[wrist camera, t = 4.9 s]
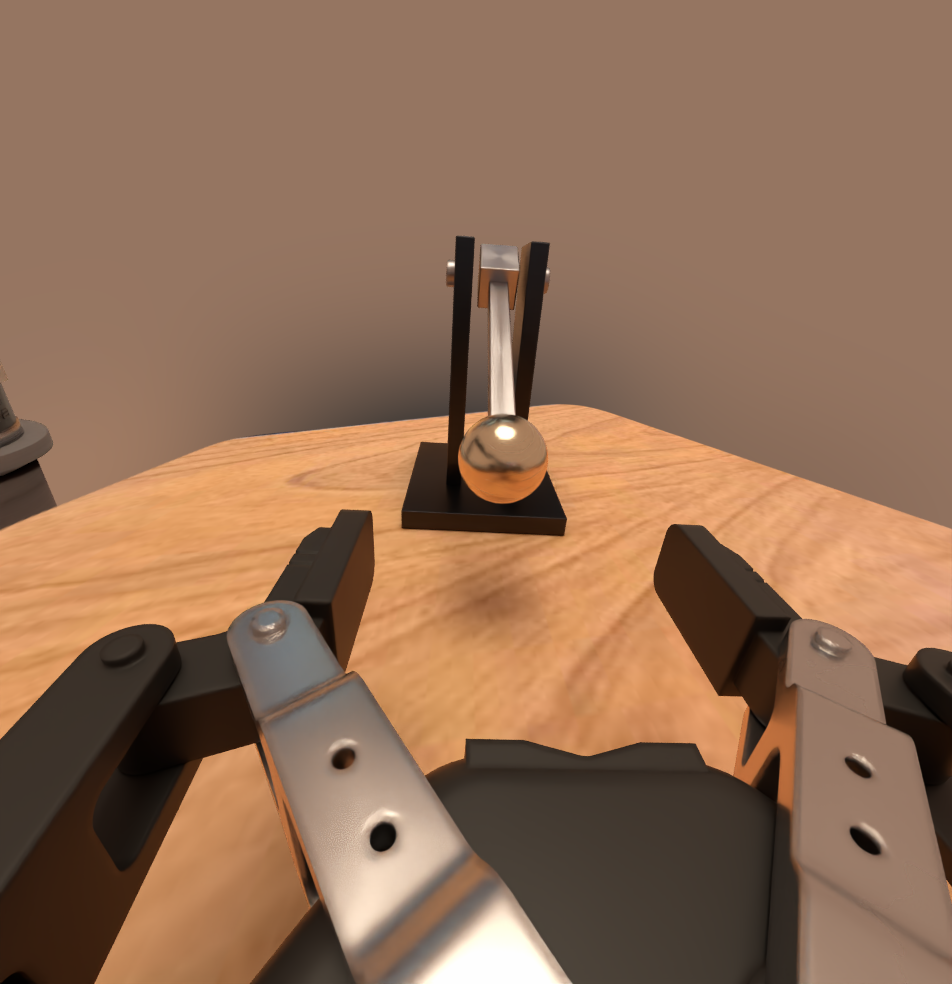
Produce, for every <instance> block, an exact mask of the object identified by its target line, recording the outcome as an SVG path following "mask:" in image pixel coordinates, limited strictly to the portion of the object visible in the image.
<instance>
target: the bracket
mask: <svg viewBox="0 0 952 984" xmlns="http://www.w3.org/2000/svg"><path fill="white" fill-rule="evenodd" d="M474 241H475V238H474V237H468V236H456V246H455V247H456V248H455V261H454V260H448V261H447V271H446V285H447V287H454V298H453V300H454V301H453V324H452V350H451V352H452V353H451V375H450V401H449V426H448V443H430V442H421V443H420V447H419V451H418V454H417V458H416V461H415V465H414V468H413V472H412V476H411V479H410V483H409V486H408V490H407V493H406V497H405V501H404V504H403V508H402V528H418V529H439V530H461V531H482V532H504V533H526V534H547V535H564V532H565V527H566V521H567V518H566V516H565V513H564V511H563V508H562V506H561V504H560V501H559V499H558V496H557V494H556V492H555V489H554V487H553V484H552V482H551V480H550V477H549V475H548V472H547V470H546V473H545V476H544V478H543V480H542V482H541V483H540V485H539V486H538V487H537V489H536V490H535V491H534V492H532V493H531V494H530V495H529V496H527V497H526V498H524V499H522V500H519V501H517V502H513V503H506V504H500V503H493V502H489V501H486V500H484V499H482V498H480V497H479V496H477V495H476V494H474V493H473V492H472V491H471V490H470V489H469V488H468V486H467V485H466V484H465V482H464V480H463V478H462V476H461V473H460V470H459V465H458V454H459V448H460V445H461V442H462V439H463V438H464V422H465V403H466V385H467V368H468V350H469V333H470V315H471V297H472V278H473V261H474V243H475V242H474ZM549 245H550V243H546V242H530V243H528V244H527V245H525V246H523V247H522V252H521V261H520V273H519V281H518V291H517V302H516V312H515V322H514V332H513V342H512V357H513V375H514V393H515V410H516V416H519V417H522V418H524V419H526V420H527V421H528V415H529V407H530V399H531V390H532V382H533V374H534V366H535V358H536V350H537V342H538V334H539V326H540V318H541V310H542V302H543V294H545V293H547V290H548V287H549V281H550V269H549V268H547V262H548V254H549Z"/></svg>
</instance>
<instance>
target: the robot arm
mask: <svg viewBox="0 0 952 984" xmlns="http://www.w3.org/2000/svg"><path fill="white" fill-rule="evenodd" d="M6 380H8V378H7V376H6V373H5V371H4V369H3V366H2V364H1V361H0V447H2V446H5V445H7V444H10V443H12V442H14V441H15V440H17V439H19V438H20V437H21V436H22V435H23V433H24V431H23V428H22V426H21V424H20V421H19V419H18V418H17V417H16V416H15V414H14V412H13V410H12V407H11V405H10V403H9V400H8V398H7V396H6V393H5V391H4V389H3V386H2V384H1V383H2V382H4V381H6ZM374 565H375V559H374V538H373V519H372V513H371V511H364V510H343V509H342V510H341V511H340V512H339V514H338V516H337V518H336V520H335V522H334V524H333V525H332V527H331V528H323V527H319V528H317V529H316V530H315V531H313V532H312V533H310V534H309V535H308V536H306V537H305V538H304V539H303V540H302V542H301V544H300V545H299V547H298V549H297V550H296V554H294V555H293V557H292V558H291V560H290V562H289V565H287V566H286V568H285V570H284V571H283V573H282V574H281V576H280V578H279V579H278V581H277V583H276V584H275V586H274V587H273V589H272V591H271V592H270V594H269V596H268V597H267V599H266V600H265V602H264V603H262V604H259V605H256V606H254V607H252V608H250V609H248V610H246V611H245V612H243V613H242V614H240V615H239V616H238V617H237V618H236V619H235V620H234V621H233V622H232V624H231V625H230V627H229V629H228V631H226V632H223V633H220V634H216V635H212V636H207V637H202V638H197V639H192V640H187V641H182V642H177V643H176V641H175V638H174V635H173V633H172V632H171V630H169V629H168V628H167V627H164V626H161V625H156V624H144V625H137V626H132V627H128V628H124V629H121V630H119V631H116V632H114V633H111V634H109V635H107V636H105V637H103V638H101V639H100V640H98V641H96V642H95V643H93V644H92V645H91V646H89V647H88V648H87V649H85V650H84V651H83V652H82V653H81V654H80V655H79V656H78V657H77V658H76V659H75V660H74V662H73V663H72V664H71V665H70V666H69V667H68V668H67V669H66V670H65V671H64V672H63V673H62V674H61V675H60V676H59V678H58V679H57V680H56V681H55V682H54V683H53V684H52V685H51V686H50V687H49V688H48V689H47V690H46V691H45V692H44V694H43V695H42V696H41V697H40V698H39V699H38V700H37V701H36V702H35V703H34V704H33V705H32V706H31V707H30V708H29V710H28V711H27V712H26V713H25V714H24V715H23V716H22V717H21V718H20V719H19V720H18V721H17V722H16V723H15V724H14V726H13V727H12V728H11V729H10V730H9V731H8V732H7V733H6V734H5V735H4V736H3V737H2V738H1V739H0V984H94V983H95V981H96V979H97V977H98V975H99V973H100V971H101V968H102V966H103V964H104V962H105V960H106V958H107V956H108V954H109V952H110V950H111V948H112V946H113V944H114V941H115V939H116V937H117V935H118V933H119V931H120V929H121V927H122V925H123V923H124V921H125V919H126V917H127V914H128V912H129V910H130V908H131V906H132V904H133V902H134V900H135V898H136V896H137V894H138V892H139V890H140V888H141V885H142V883H143V881H144V879H145V877H146V875H147V873H148V871H149V869H150V867H151V865H152V863H153V861H154V858H155V856H156V854H157V852H158V850H159V848H160V846H161V844H162V842H163V840H164V838H165V836H166V834H167V832H168V829H169V827H170V825H171V823H172V821H173V819H174V817H175V815H176V813H177V811H178V809H179V807H180V805H181V802H182V800H183V798H184V796H185V794H186V792H187V790H188V788H189V786H190V784H191V782H192V780H193V778H194V776H195V773H196V771H197V769H198V767H199V765H200V763H201V761H202V759H203V758H204V757H208V756H211V755H215V754H218V753H222V752H225V751H229V750H232V749H236V748H239V747H243V746H246V745H250V744H253V743H255V746H256V749H257V752H258V755H259V758H260V761H261V764H262V767H263V770H264V773H265V776H266V778H267V781H268V784H269V787H270V790H271V793H272V796H273V799H274V802H275V805H276V808H277V811H278V814H279V817H280V820H281V823H282V826H283V829H284V832H285V835H286V839H287V842H288V845H289V849H290V852H291V855H292V859H293V862H294V865H295V868H296V871H297V874H298V877H299V880H300V883H301V886H302V889H303V892H304V895H305V898H306V901H307V904H308V907H309V911H308V912H307V913H306V914H305V916H304V917H303V918H302V919H301V921H300V922H299V923H298V924H297V926H296V927H295V928H294V929H293V931H292V932H291V933H290V934H289V936H288V937H287V938H286V939H285V941H284V942H283V943H282V944H281V946H280V947H279V948H278V949H277V951H276V952H275V953H274V954H273V956H272V957H271V958H270V959H269V961H268V962H267V963H266V964H265V965H264V967H263V968H262V969H261V970H260V972H259V973H258V974H257V975H256V977H255V978H254V979H253V980H252V982H251V983H250V984H952V903H951V899H950V895H949V890H948V886H947V882H946V880H947V881H948V882H949V884H950V885H951V886H952V652H949V651H946V650H942V649H936V648H924V649H921V650H919V651H918V652H917V654H916V655H915V656H914V658H913V659H912V660H911V662H910V663H909V665H908V666H907V665H903V664H899V663H895V662H891V661H887V660H883V659H880V658H876V657H873V655H872V653H871V652H870V651H869V650H868V648H867V647H866V646H865V645H864V644H862V643H861V642H860V641H859V640H857V639H856V638H855V637H853V636H852V635H850V634H848V633H847V632H845V631H843V630H841V629H839V628H837V627H835V626H832V625H830V624H827V623H824V622H821V621H817V620H812V619H802V618H801V617H800V616H799V615H798V614H797V613H796V612H795V611H794V610H793V609H792V608H791V607H790V606H789V605H788V604H787V603H786V602H785V601H784V600H783V599H782V598H781V597H780V596H779V595H778V594H777V593H776V592H775V591H774V590H773V589H772V588H771V587H770V586H769V585H768V584H767V583H764V580H763V579H762V578H761V577H760V575H759V574H758V573H757V572H753V568H752V567H751V566H750V565H749V564H748V563H747V562H746V561H745V560H744V559H743V558H742V557H741V556H739V555H738V554H736V553H735V552H733V551H731V550H730V549H728V548H727V547H725V546H723V545H722V544H720V543H719V542H718V541H717V540H716V539H715V537H714V536H713V535H712V534H711V533H710V532H709V531H708V530H707V529H706V528H705V527H703V526H701V525H681V524H673V525H671V526H670V527H669V528H668V530H667V532H666V535H665V539H664V542H663V545H662V548H661V551H660V555H659V558H658V561H657V564H656V567H655V571H654V587H655V590H656V593H657V595H658V596H659V598H660V600H661V601H662V603H663V605H664V606H665V608H666V610H667V611H668V613H669V615H670V616H671V618H672V620H673V621H674V623H675V625H676V626H677V628H678V629H679V631H680V633H681V634H682V636H683V638H684V639H685V641H686V643H687V644H688V646H689V648H690V649H691V651H692V653H693V654H694V656H695V658H696V659H697V661H698V663H699V664H700V666H701V667H702V669H703V671H704V672H705V674H706V676H707V677H708V679H709V681H710V682H711V684H712V686H713V687H714V689H715V691H716V692H717V694H718V696H742V697H743V698H744V700H745V701H746V703H747V704H748V707H747V708H746V710H745V712H744V715H743V721H742V727H741V733H740V739H739V745H738V751H737V757H736V763H735V768H734V774H733V776H732V775H730V774H728V773H726V772H723V771H721V770H718V769H716V768H713V767H710V766H707V765H706V764H705V762H704V760H703V758H702V756H701V754H700V752H699V750H698V748H697V746H696V744H692V743H642V742H640V743H636V744H633V745H629V746H625V747H622V748H618V749H614V750H611V751H607V752H604V753H600V754H596V755H593V756H580V755H576V754H573V753H569V752H565V751H562V750H558V749H554V748H551V747H547V746H543V745H540V744H536V743H532V742H529V741H525V740H493V739H466V745H465V756H464V759H461V760H458V761H454V762H451V763H449V764H446V765H444V766H442V767H439V768H437V769H436V770H434V771H432V772H430V773H429V774H427V775H425V776H424V774H423V773H422V771H421V770H420V768H419V766H418V765H417V763H416V762H415V760H414V759H413V757H412V756H411V754H410V752H409V751H408V749H407V748H406V746H405V745H404V743H403V742H402V740H401V738H400V737H399V735H398V734H397V732H396V731H395V729H394V727H393V726H392V724H391V723H390V721H389V720H388V718H387V717H386V715H385V713H384V712H383V710H382V709H381V707H380V706H379V704H378V703H377V701H376V699H375V698H374V696H373V695H372V693H371V692H370V690H369V689H368V687H367V685H366V684H365V682H364V681H363V679H362V678H361V677H360V676H359V674H358V673H356V672H355V671H352V672H350V673H348V674H346V673H345V671H346V668H347V665H348V661H349V658H350V655H351V651H352V648H353V645H354V641H355V638H356V635H357V632H358V628H359V625H360V622H361V618H362V615H363V612H364V609H365V605H366V602H367V599H368V595H369V592H370V589H371V585H372V582H373V576H374Z"/></svg>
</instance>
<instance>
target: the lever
mask: <svg viewBox="0 0 952 984" xmlns="http://www.w3.org/2000/svg"><path fill="white" fill-rule="evenodd" d="M519 273H520V267H519V256H518V247H515V246H502V245H489V244H481V247H480V261H479V275H478V302H477V303H478V305H477V306H478V308H488V416H487V417H485V418H483V419H481V420H479V421H478V422H476V423H475V424H474V425H473V426H472V427H471V428H470V429H469V430H468V431H467V433H466V434H465V436H464V438H463V439H462V442H461V445H460V448H459V454H458V465H459V470H460V473H461V476H462V478H463V480H464V482H465V484H466V485H467V486H468V488H469V489H470V490H471V491H472V492H473V493H474V494H476V495H477V496H479V497H480V498H482V499H484V500H486V501H489V502H493V503H500V504H506V503H513V502H517V501H519V500H522V499H524V498H526V497H527V496H529V495H530V494H531V493H532V492H534V491H535V490H536V489H537V487H538V486H539V485H540V483H541V482H542V480H543V478H544V476H545V473H546V470H547V465H548V452H547V447H546V444H545V441H544V439H543V437H542V435H541V434H540V432H539V431H538V430H537V428H536V427H535V426H534V425H533V424H531V423H530V422H529V421H527V420H526V419H524V418H522V417H519V416H516V410H515V393H514V375H513V357H512V340H511V323H510V322H511V321H510V310H514V306H515V299H516V293H517V287H518V280H519Z"/></svg>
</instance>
